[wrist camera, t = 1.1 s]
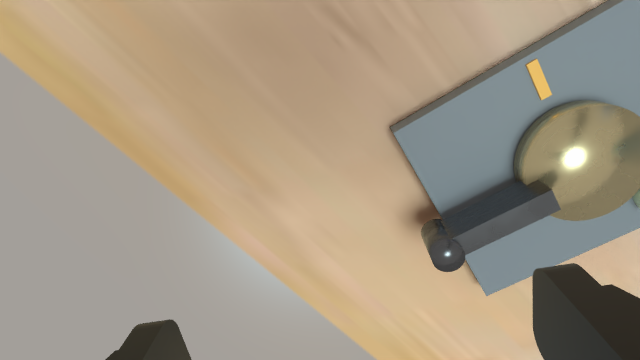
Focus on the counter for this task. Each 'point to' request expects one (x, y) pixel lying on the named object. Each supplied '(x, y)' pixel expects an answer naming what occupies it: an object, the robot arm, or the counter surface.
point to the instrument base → (510, 126)
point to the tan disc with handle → (550, 179)
